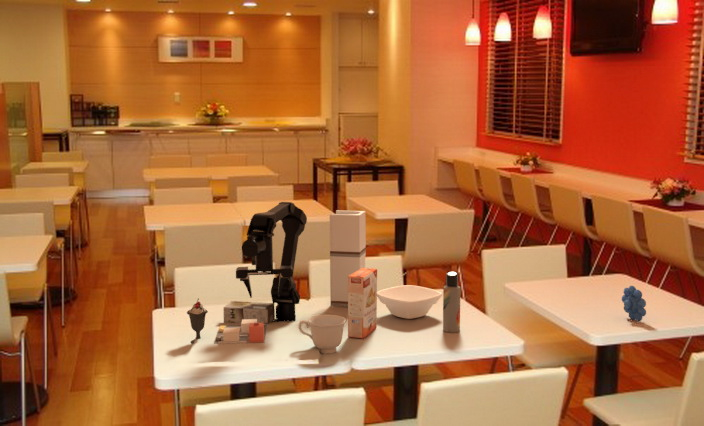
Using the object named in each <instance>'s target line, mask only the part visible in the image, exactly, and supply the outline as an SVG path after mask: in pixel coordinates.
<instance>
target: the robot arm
mask: <svg viewBox="0 0 704 426" xmlns="http://www.w3.org/2000/svg"><path fill="white" fill-rule="evenodd" d="M279 221H280V222H281V227H282V229H283V232H284V240H283V241H284V242H283V248H282V254H281V260H280V261H281V262H280V268H274V255H273V254H274V253H273V237H274V236H275V233H274V230H275V228H277V223H278V222H279ZM307 222H308V219H307V215H306V214H305V212H304V210H303V209H301V208H300V207H298V206H296V205H295V203H294V202H292V201H280V202H278V204H277V205H276V206H275V205H274V207H272V208H271V209H269V210H268V211H266V212H257V213H254V214H253V215H252V217H251V219H250V222H249V225H248V229H247V232H246V236H247V237H246V240H245V241H244V242H242V245H241V251H242V253H243V255H244V256H246V257H248V258H251V266H255V268H254V269H253V268H252V269H249V266H238V267H236V269H235V279H238V280H239V281H240V282H243V284H244V286H245V288H246V290H247V292H248V295H249V298H250V299H251V298H253V292H252V287H251V280H250V279H251V278H250V276H261V275H262V276H264V275H265V276H267V275H277V276H276V277H275V276H274V277H273V279H272V285H271V288H270V296H271V300H272V301H271V302H272V303H274V304H276V306H275V320H276V322H296V319H297V317H296V316H297V315H296V305H298V304H300V300H301V295H300V294H299V291H298V290H297V283H296V281H295V278H294V271H295V265H296V264H295V262H296V255H297V250H298V244H299V237H300V236H301V235H302V233H303V232H304V231H305V228H306V224H307Z"/></svg>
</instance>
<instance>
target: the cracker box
mask: <svg viewBox="0 0 704 426" xmlns="http://www.w3.org/2000/svg"><path fill="white" fill-rule="evenodd" d="M377 292H378V268H371V267H365V268H361V269H359V270H358V271H356V272H354V273H353V274H351V275H349V276H348V307H347V337H348V338H354V339H355V338H356V339H364V338H366V337H367V336H368V335H370V333H371V332H373V331H374V330H375V329H376V328H377V323H378V322H377V318H378V317H377V315H378V314H377V313H378V311H377V309H378V308H377V307H378V306H377V305H378V301H377V300H378V297H377Z"/></svg>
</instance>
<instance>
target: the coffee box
mask: <svg viewBox="0 0 704 426" xmlns="http://www.w3.org/2000/svg"><path fill="white" fill-rule="evenodd" d="M242 319H257V322H258V323H264V325H269V324H270V323H273V322H274V321H276V308H275V303H273V302H263V301H262V302H259V301H237V300H234V301H232V300H231V301H230V302H228V304H226V305H224V306H223V324H241V322H242Z"/></svg>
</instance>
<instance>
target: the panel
mask: <svg viewBox="0 0 704 426" xmlns="http://www.w3.org/2000/svg"><path fill="white" fill-rule="evenodd" d="M267 325H268V324H264V342H249V332H241V324H237V325H236V324H232V325H231V324H230V325H229V324H228V325H219V328H218V330H217V334H216V336H215V338H214V341H213V345H222V344H223V345H224V344H256V343H257V344H262V343H263V344H264V343H265V339H266V332H267ZM224 328H240V340H239V341H223V331H224Z"/></svg>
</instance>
